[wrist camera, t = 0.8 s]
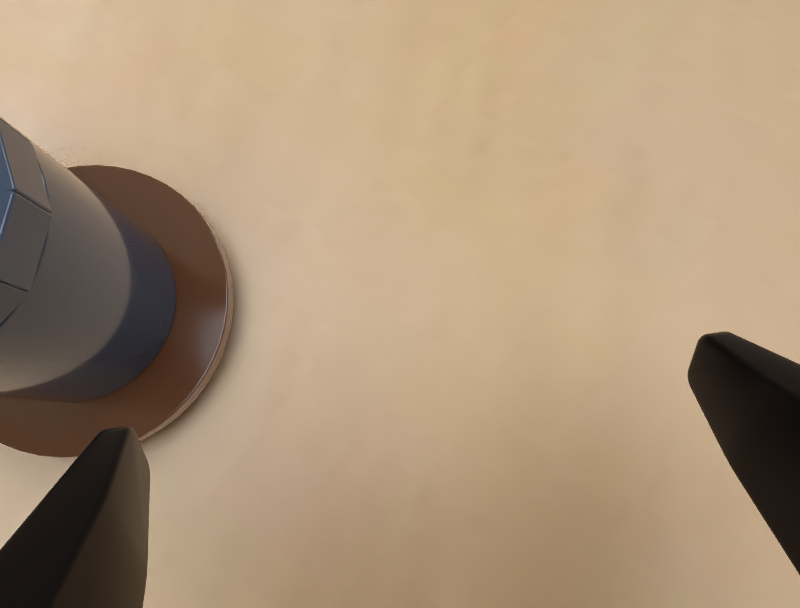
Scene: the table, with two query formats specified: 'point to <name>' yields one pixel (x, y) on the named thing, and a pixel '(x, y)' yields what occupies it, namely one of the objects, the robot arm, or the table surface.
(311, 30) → the table surface
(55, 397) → the mug
